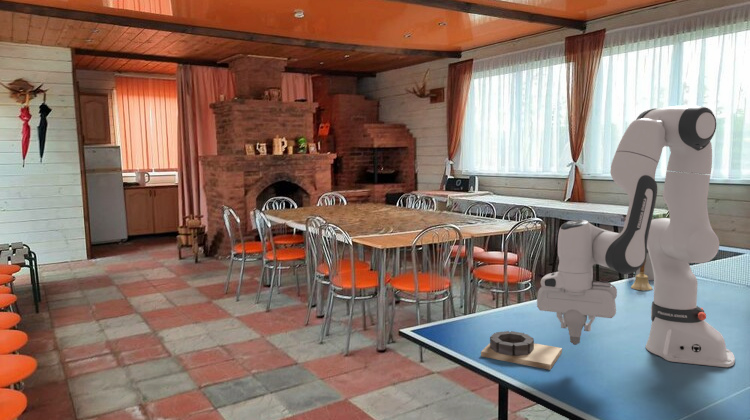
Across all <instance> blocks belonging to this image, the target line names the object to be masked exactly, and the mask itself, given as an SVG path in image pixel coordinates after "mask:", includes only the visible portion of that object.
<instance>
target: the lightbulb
mask: <svg viewBox="0 0 750 420" xmlns="http://www.w3.org/2000/svg"><path fill="white" fill-rule="evenodd" d="M562 316H563V318H564V321H565V323H566V325H567V330H568V335H569V342H570V343H571V344H572V345H574V346H576V345H579V344H580V343H581V336H582V332H583V331H582V330H583V327H584V324H585V323H587V320H588V316H585V315H582V314H581V313H580V312H579V311H577V310H569V311H567V312H566V313H563V315H562Z"/></svg>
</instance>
